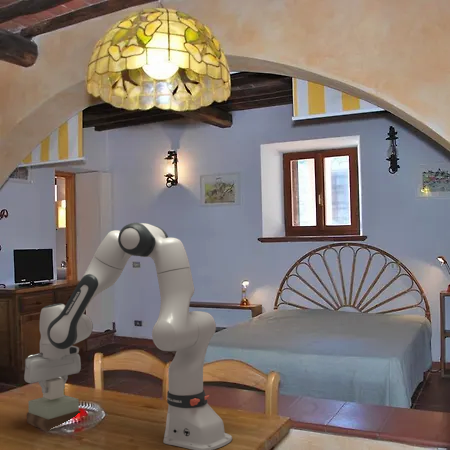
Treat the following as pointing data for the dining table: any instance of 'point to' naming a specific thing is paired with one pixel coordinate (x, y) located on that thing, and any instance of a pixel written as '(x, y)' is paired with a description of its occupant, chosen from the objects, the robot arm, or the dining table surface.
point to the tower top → (53, 406)
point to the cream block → (54, 388)
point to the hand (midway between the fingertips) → (53, 390)
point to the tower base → (50, 423)
